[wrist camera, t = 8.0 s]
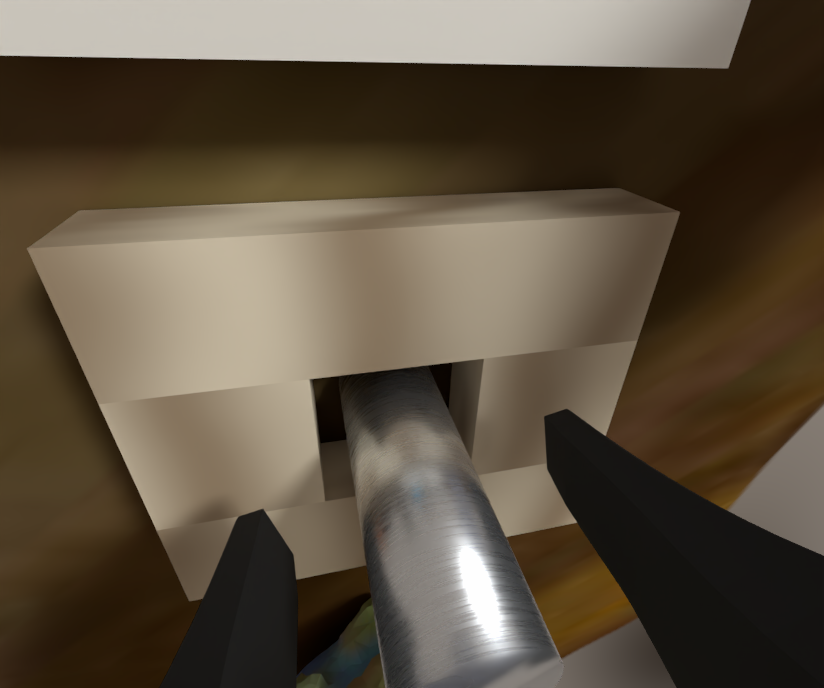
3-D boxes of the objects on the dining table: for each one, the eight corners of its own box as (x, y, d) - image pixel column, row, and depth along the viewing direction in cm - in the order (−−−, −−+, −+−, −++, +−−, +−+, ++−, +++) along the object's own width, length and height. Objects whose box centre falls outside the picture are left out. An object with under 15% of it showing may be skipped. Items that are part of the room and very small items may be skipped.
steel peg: (418, 328, 14) (562, 628, 7) (435, 397, 16) (565, 698, 8) (325, 356, 14) (369, 699, 6) (353, 424, 16) (412, 757, 8)
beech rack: (619, 187, 13) (680, 212, 11) (546, 473, 19) (576, 522, 17) (78, 210, 10) (26, 248, 8) (201, 534, 17) (189, 601, 15)
